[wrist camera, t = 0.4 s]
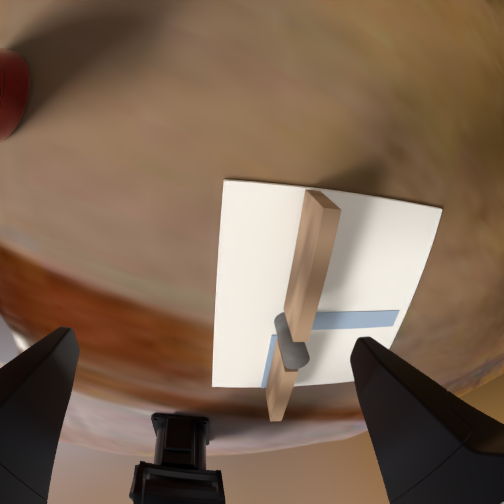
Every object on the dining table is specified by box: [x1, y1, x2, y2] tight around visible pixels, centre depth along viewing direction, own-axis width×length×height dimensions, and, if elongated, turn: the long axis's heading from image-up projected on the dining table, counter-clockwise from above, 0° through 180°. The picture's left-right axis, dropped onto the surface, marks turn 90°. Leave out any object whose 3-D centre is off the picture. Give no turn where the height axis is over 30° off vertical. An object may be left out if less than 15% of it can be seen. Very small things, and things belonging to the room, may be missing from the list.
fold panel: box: [283, 189, 341, 342], centre depth 19 cm, size 9×1×4 cm, turn 174°
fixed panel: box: [265, 312, 310, 422], centre depth 23 cm, size 9×2×5 cm, turn 174°
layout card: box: [212, 179, 443, 388], centre depth 23 cm, size 19×17×1 cm
